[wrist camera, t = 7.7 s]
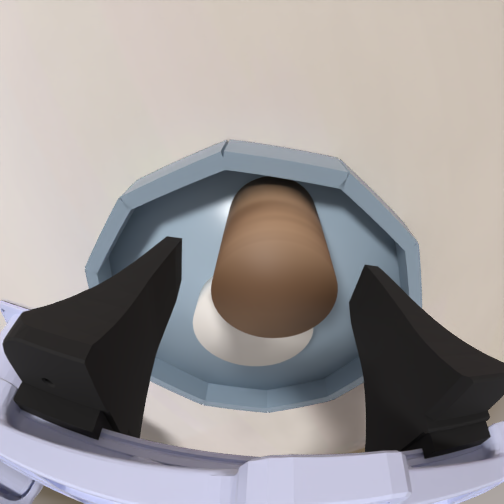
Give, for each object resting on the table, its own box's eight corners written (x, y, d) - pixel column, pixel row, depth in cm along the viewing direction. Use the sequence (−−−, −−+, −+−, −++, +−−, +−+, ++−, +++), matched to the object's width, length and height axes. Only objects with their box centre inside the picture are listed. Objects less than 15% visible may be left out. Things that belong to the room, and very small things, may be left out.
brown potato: (306, 258, 17) (319, 342, 12) (225, 248, 17) (208, 330, 12) (324, 183, 15) (354, 251, 10) (233, 170, 15) (214, 232, 9)
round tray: (346, 395, 25) (349, 415, 24) (125, 367, 25) (118, 387, 23) (455, 189, 15) (475, 207, 13) (91, 129, 14) (68, 140, 12)
